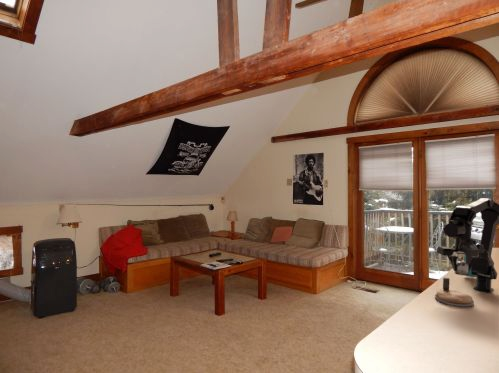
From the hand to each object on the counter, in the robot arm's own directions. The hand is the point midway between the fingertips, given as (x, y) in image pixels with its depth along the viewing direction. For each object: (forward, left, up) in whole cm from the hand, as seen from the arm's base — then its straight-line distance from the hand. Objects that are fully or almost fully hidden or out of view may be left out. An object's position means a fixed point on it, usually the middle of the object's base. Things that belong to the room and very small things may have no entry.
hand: (461, 271), depth 147 cm
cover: (0, 0, -1) cm, 1 cm away
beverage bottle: (-35, -5, -12) cm, 37 cm away
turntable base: (+6, -1, -12) cm, 13 cm away
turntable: (+5, -1, -10) cm, 12 cm away
